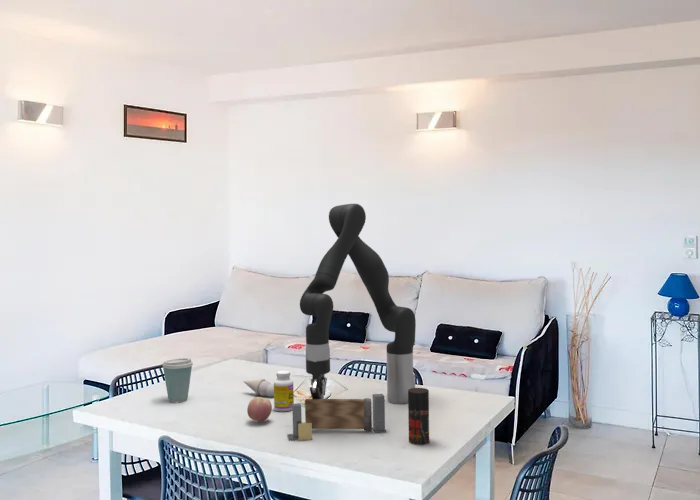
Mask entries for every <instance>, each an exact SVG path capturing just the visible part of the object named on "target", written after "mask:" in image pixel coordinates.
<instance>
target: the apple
mask: <svg viewBox="0 0 700 500" xmlns="http://www.w3.org/2000/svg"><path fill="white" fill-rule="evenodd" d="M246 409H247V416H248V418H249V419H251V420H253V421H256V422H260V423H264V422H265V421H267V420H268V418H269V417H270V415H271V413H272V409H273V406H272V402H271V401H270V399H267V398H266V397H263V396H255V397H253V398H252V399H251V400H250V401H249V402H248V404H247V408H246Z"/></svg>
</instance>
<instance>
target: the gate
mask: <svg viewBox="0 0 700 500" xmlns="http://www.w3.org/2000/svg"><path fill="white" fill-rule="evenodd" d="M304 413H305V414H304V416H305V420H304V421H305V422H312V430H316V429H317V430H319V429H320V430H363V431H364V432H373V430H372V428H373V411H372V398H370V397H369V398H368V397H367V398H324V399H312V398H305V399H304Z"/></svg>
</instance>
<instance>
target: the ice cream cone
mask: <svg viewBox="0 0 700 500" xmlns="http://www.w3.org/2000/svg"><path fill="white" fill-rule="evenodd" d="M243 383H244V384H245V385H246V386H248V388H250V389H251V390H252V391H253V392H254V393H255V394H256V395H257V396H258V397H269V398H274V383H272V382H270V381H268V380H266V379H264V378H262V379H253V380H244V381H243Z"/></svg>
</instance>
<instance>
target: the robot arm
mask: <svg viewBox="0 0 700 500" xmlns="http://www.w3.org/2000/svg"><path fill="white" fill-rule="evenodd" d="M366 217H367V215H366V211H365V209H364V207H363V205H361V204H359V203H347V204H341V205H339V204H338V205H335V206H333V207H332V208H330V210H329V212H328V221H329V224H330V227H331V229H332V231H333V232H334V234H335V236H336V238H337V239H336V241H335V242H334V243H333V244H332V246H331V247H330V248H329V249H328V251H326V253H325V254H324V256H323V257H322V259H321V260H320V262H319V265H318V268H317V270H316V272H315V275H314V278H313V279H312V280H311V282H310V283H309V284H308V286H307V288H306V289H305V290H304V291H303V293H302V294H301V298H300V300H299V309H300V311H301V313H302V314H303V315H306V316H314V317H316V319H315V322H313V323H312V322H311V323H309V324H307V325H306V326H305V373H307V374H309V375H312V376H311V379H310V385H311V386H310V387H309V392H310V395H311V396H310V397H311V399H325V395H326V391H327V389H326V388H327V382H328V378H327V377H326V376H325V375H326V374H328V373H330V372H331V354H330V353H331V352H330V351H331V349H330V341H329V338H330V337H329V336H330V334H329V330H330V329H329V327H330V324H331V320H332V315H333V312H334V301H333V299H332V296H330V295H329V294H327V293H326V292H329V291H332V290H334V289H335V287H336V286H337V282H338V280H339V277H340V274H341V271H342V269H343V267H344V263H345V262H346V259H347V257H348V256H349V258H350V260H351V262H352V264H353V265H354V268H355V270H356V273H358V275H359V277H360V280H361V281H362V283H363V284H364V286H365V288H366V291H367V293H368V294H369V297H370V298H371V300H372V302H373V304H374V307H375V309H376V313H377V314H378V318H379V320H380V323H381V324H382V326H383V327H384V329H385V330H387V331H388V332H390V333H394V340H393V341H391V342H388V343H387V344H386V387H387V389H386V390H387V391H386V397H387V398H386V399H387V402H388V403H390V404H391V403H393V404H397V405H398V404H399V405H402V404H408V390H409V389H411V388H416V374H415V373H414V346H415V343H416V322H417V321H416V315H415V312H414V310H413V309H411V308H410V307H405V306H399V305H396V303H395V301H394V300H393V298H392V296H391V295H390V291H389V286H390V285H389V283H390V279H389V278H390V275H389V271H388V270H387V267H386V265H385V263H384V261H383V260H382V258H381V256H380V255H379V254H378V252H376V251H375V250H374V249H373V248H372V247H370V246H369V245H368V244H367V243H366V242H365V241H363V239H362V238H360V236H359V235H360V234H361V232H362V230H363V228H364V226H365V223H366V219H367V218H366Z"/></svg>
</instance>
